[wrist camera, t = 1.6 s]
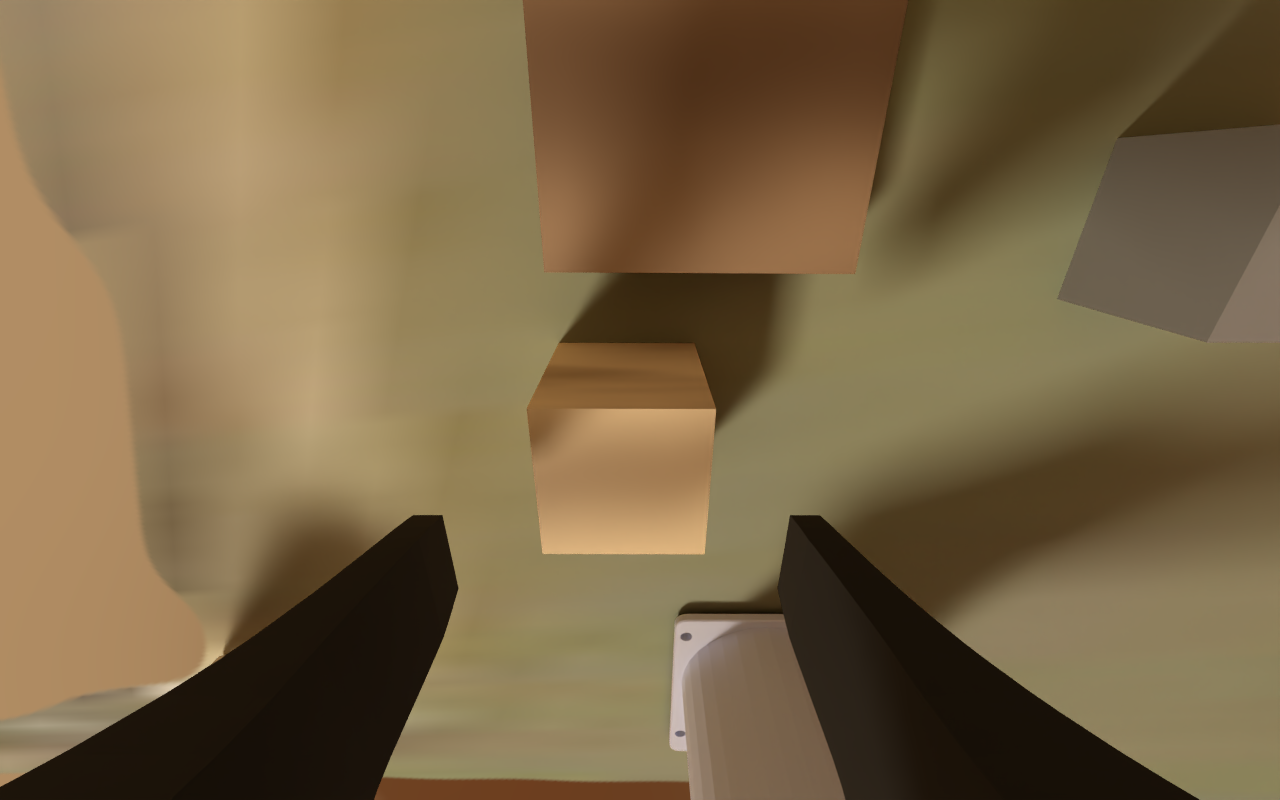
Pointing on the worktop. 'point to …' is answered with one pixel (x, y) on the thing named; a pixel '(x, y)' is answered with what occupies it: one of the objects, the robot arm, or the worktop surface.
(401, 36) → the worktop surface
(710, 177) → the walnut block
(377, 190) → the worktop surface
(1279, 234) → the slate cube
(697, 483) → the maple cube
